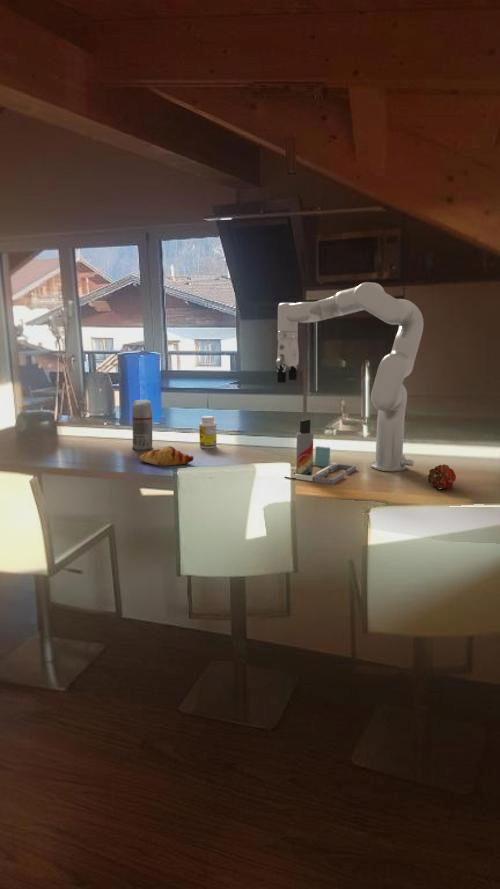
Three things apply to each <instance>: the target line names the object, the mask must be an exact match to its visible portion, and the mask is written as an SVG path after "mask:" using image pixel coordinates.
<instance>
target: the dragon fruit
mask: <svg viewBox="0 0 500 889" xmlns="http://www.w3.org/2000/svg"><path fill="white" fill-rule="evenodd" d="M427 477H428V478H427V482H428V483H429V484H431V485H432V486H433V487H434V486H435V487H434V488H436V487H437V488H444V489H445V488H446V489H450V488H451V489H453V486H454V482H455V481H456V479H457V475H456V473H455V471H454V470H453V469H452V468H451V467H450V466H449V465H447V464H444V463H442V465H441V464H439V465H437V466H435V467H434V468H431V469H429V473H428V475H427ZM437 488H436V489H437Z"/></svg>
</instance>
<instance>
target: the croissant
mask: <svg viewBox="0 0 500 889" xmlns="http://www.w3.org/2000/svg"><path fill="white" fill-rule="evenodd" d="M139 459H140V461H142V462H144V463H146V464H147V463H148V464H150V465H155V466H163V467H164V466H165V467H167V466H168V467H169V466H179V465H187V464H190V463H191V462H193V461H194V456H193V455H189V454H187V453H183V452H181V451H180V450H178V449H176V448H175V447H174V446H170V445H168V446H164V447H162V448H161V449H160V448H158V449H153V450H151V451H147V452H144V453H143V454H140V455H139Z"/></svg>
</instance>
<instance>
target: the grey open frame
mask: <svg viewBox="0 0 500 889" xmlns="http://www.w3.org/2000/svg"><path fill="white" fill-rule="evenodd" d="M339 469H340V470H341V469H342V470H345V472H341V473H339V474H338V475H336V476H335V477H333V478H328V477H326V476H328V473H330V474H331V473H334V472H335V471H337V470H339ZM356 470H357V466H356V465H354V464H353V465H351V464H343V463H336V465H334V466H332V467H331V468H329V472H327V471H324V472H322V473H320V474H319V475H317V476H315V477H314V481H313V482H314V483H322V484H327V485H328V484H329V485H335V484H337V482H340V481H341V480H342V479H344V478H345V475H346V476H348V475H350V474H351V473H353V472H355V471H356Z"/></svg>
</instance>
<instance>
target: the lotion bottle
mask: <svg viewBox="0 0 500 889" xmlns="http://www.w3.org/2000/svg"><path fill="white" fill-rule="evenodd" d="M311 430H312V421H311V419H310V418H308V419H306V418H305V419H302V420H299V432H297V433H296V448H295V449H296V451H295V453H296V454H295V455H296V456H295V458H296V459H295V460H296V461H295V467H296V473H295V474H301V475H309V476H312V475H313V474H314V473H313V472H314V470H313V468H314V465H313V460H314V433H313V432H311Z"/></svg>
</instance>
